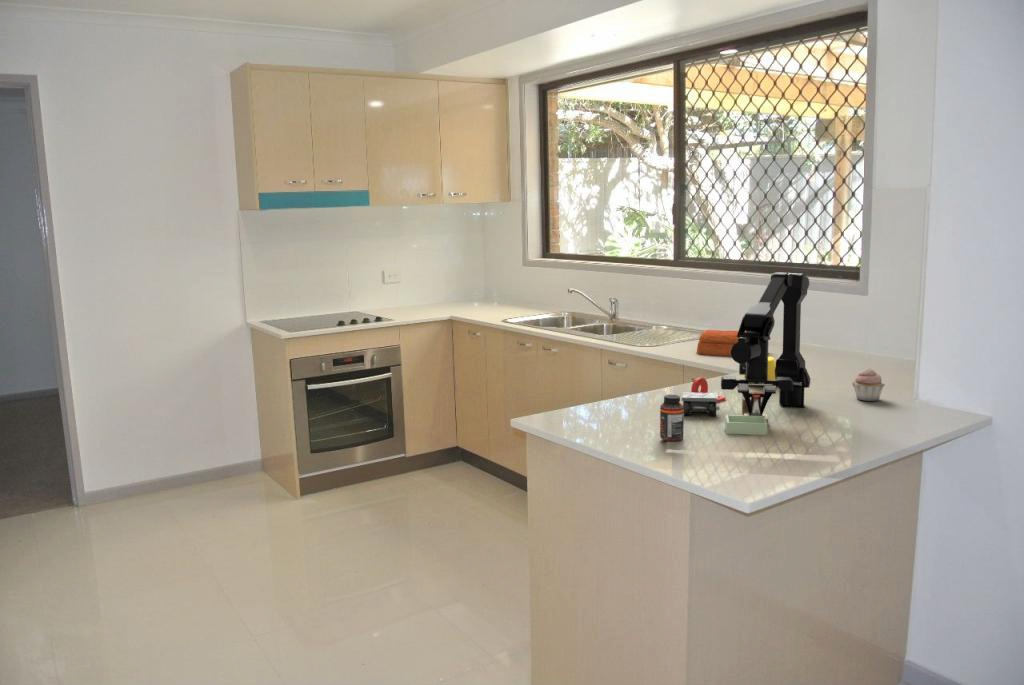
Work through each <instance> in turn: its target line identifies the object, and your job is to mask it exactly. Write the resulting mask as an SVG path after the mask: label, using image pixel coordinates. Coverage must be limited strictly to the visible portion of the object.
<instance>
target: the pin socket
mask: <svg viewBox="0 0 1024 685" xmlns="http://www.w3.org/2000/svg"><path fill="white" fill-rule="evenodd" d="M744 415H746V416H751V414H749V413H744ZM761 416H765V418H766V421H767V427H769V417H768V415H767V413H763V414H762V415H761Z"/></svg>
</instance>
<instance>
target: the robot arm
mask: <svg viewBox="0 0 1024 685" xmlns="http://www.w3.org/2000/svg"><path fill="white" fill-rule="evenodd" d="M809 287H810V278H809V277H807V276H806V274H805V273H803V272H802V273H800V272H794V273H793V272H774V273H772V274H771V275H770V280H769V282H768V285H767V286H766V288H765V290H764V291H763V293H762V296H761V297H760V299H759V300H758V302H757V304H755V305H753V306H751V307H749V308H748V310H747V311H746V312H745V314H744V315H743V316H742V319H741V322H740V325H739V329H738V330H737V331H738V334H737V338H738V343H736V344H734V345H733V347H732V349H731V356H732V357H731V358H732V360H733V361H734V362H736V363H737V364H739V365H738V367H739V368H738V371H739V372H738V375H739V376H744V375H745V378H746V380H745V379H741V378H740V379H737V377H736V375H722V376H721V377H720V390H725V391H726V390H728V391H729V390H730V391H733V390H735V389H737V393H738V394H742V395H743V397H744V399H745V401H746V404H747V407H748V411H749V414H751V403H750V394H749V393H750V389H749V387H758V388H760V387H762V393H763V397H762V398H761V415H762V414H764V411H765V409H766V406H767V404H768V401H770V398H771V397H772V395H775V394H777V391H776V389H777V388H778V404H780V407H781V408H786V409H787V408H789V409H790V408H793V409H805V408H806V405H805V389H806V388H810V385H811V377H810V374H809V372H808V370H807V368H806V359H805V358H804V357H803V355H802V354H801V350H800V349H801V316H802V315H801V313H802V312H801V311H802V302H803V301H804V300H805V298H806V296H807V295H808V289H809ZM781 301H782V303H783V319H782V322H783V323H782V353H781V354H780V356H779V357H778V358H777V359H775V362H776V367H775V379H776V380H768V357H769V341H770V340H771V336H770V335H771V334H772V332H773V329H774V327H775V321H776V320H775V318H774V314H775V313H776V312H775V311H776V309H777V308H778V306H779V304H780V302H781ZM745 331H746V332H745ZM762 383H764V384H762Z"/></svg>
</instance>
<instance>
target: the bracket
mask: <svg viewBox="0 0 1024 685" xmlns="http://www.w3.org/2000/svg"><path fill="white" fill-rule="evenodd" d="M699 389H700V391H699ZM690 392H694V393H709V386H708V382H707V379H706V378H704V377H697V378H695V379H694V380H693V382H692V385H691V390H690ZM724 400H725V401H726V396H723V395H722V396H721V395H718V403H721V402H720V401H722V402H724ZM718 403H717V402H716V404H718Z"/></svg>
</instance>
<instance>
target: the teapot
mask: <svg viewBox="0 0 1024 685" xmlns="http://www.w3.org/2000/svg"><path fill="white" fill-rule="evenodd" d="M775 367H776V359H775V358H774V356H768V380H776V379H775ZM743 380H746V378H745V375H743ZM762 384H764V383H762Z"/></svg>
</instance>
